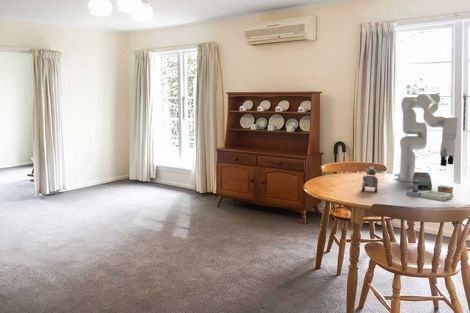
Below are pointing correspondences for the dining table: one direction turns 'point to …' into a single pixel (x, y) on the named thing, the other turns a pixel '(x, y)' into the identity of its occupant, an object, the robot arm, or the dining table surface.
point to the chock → (445, 189)
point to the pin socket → (413, 193)
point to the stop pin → (415, 185)
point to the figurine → (370, 179)
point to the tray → (435, 195)
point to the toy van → (423, 181)
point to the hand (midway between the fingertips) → (446, 164)
